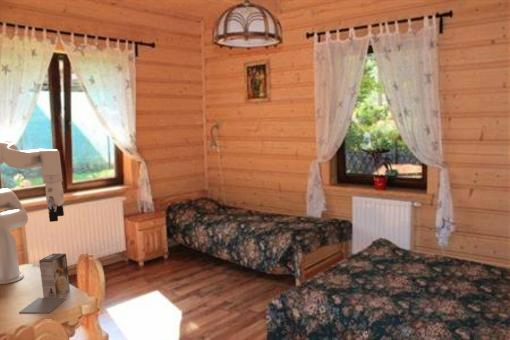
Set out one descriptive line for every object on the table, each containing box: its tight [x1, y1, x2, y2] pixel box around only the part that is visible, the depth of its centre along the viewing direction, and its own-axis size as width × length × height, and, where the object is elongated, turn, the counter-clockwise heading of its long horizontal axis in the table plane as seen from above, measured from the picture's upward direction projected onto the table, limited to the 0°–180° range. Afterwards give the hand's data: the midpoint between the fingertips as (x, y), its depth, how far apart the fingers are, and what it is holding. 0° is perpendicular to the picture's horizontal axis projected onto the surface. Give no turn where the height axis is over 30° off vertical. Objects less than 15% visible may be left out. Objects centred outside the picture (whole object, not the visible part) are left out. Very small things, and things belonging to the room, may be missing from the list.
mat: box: [18, 297, 68, 315], centre depth 176 cm, size 12×13×1 cm
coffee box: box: [38, 253, 71, 298], centre depth 186 cm, size 9×6×16 cm
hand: (57, 218), depth 191 cm, fingers open, 9 cm apart
